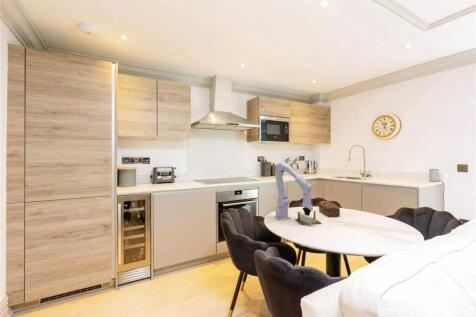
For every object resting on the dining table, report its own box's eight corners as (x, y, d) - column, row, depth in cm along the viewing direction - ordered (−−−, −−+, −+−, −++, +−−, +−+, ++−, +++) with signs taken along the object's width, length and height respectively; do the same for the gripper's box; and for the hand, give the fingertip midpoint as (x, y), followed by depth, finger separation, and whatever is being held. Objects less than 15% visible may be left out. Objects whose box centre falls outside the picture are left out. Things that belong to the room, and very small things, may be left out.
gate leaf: (299, 220, 170) (299, 213, 170) (301, 219, 171) (301, 213, 171) (310, 224, 160) (310, 217, 160) (311, 224, 161) (311, 217, 161)
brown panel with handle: (301, 225, 164) (301, 215, 163) (295, 220, 175) (295, 211, 175) (321, 223, 166) (321, 214, 166) (313, 219, 178) (313, 210, 178)
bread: (318, 211, 201) (318, 200, 200) (330, 211, 201) (330, 200, 201) (327, 217, 182) (327, 205, 182) (340, 217, 182) (340, 204, 182)
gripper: (316, 201, 164) (316, 220, 164) (307, 197, 178) (307, 214, 178) (307, 201, 162) (307, 220, 163) (299, 197, 177) (299, 215, 177)
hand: (307, 217), depth 170 cm, fingers closed
